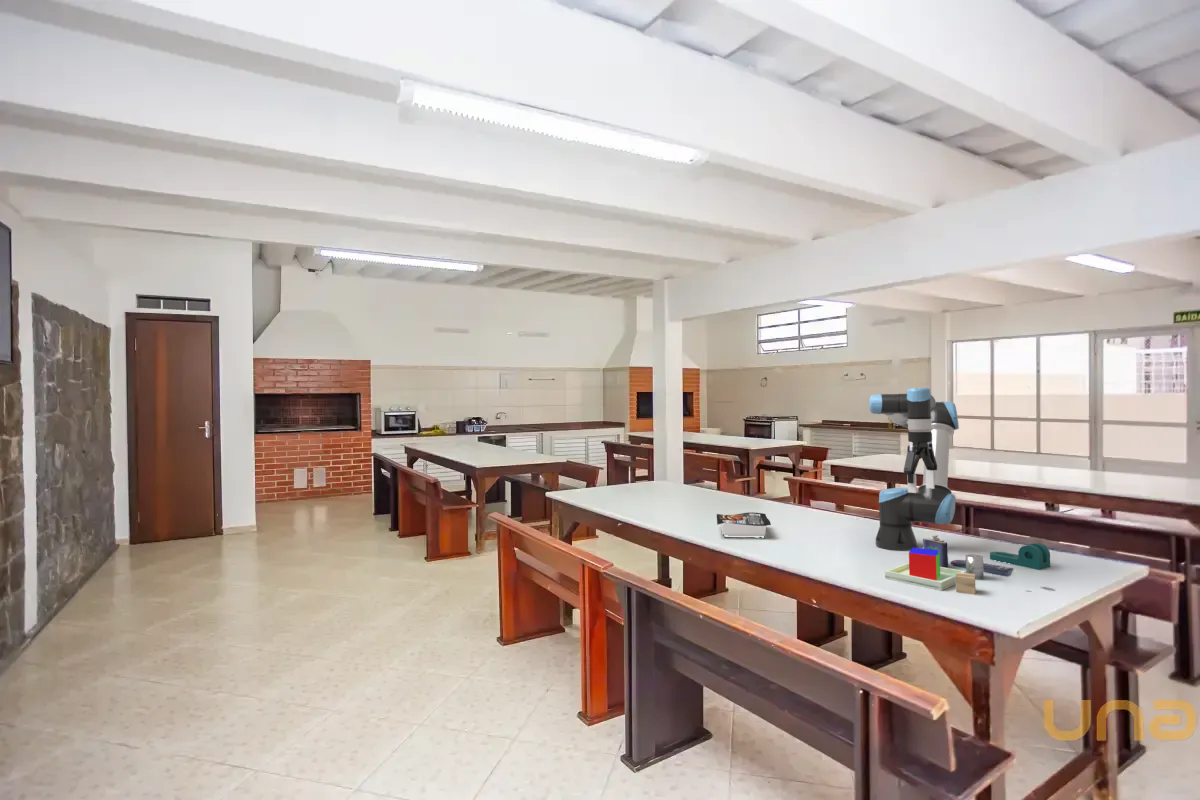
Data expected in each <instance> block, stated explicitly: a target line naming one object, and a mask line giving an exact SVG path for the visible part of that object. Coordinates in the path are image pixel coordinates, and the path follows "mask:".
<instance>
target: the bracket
mask: <svg viewBox="0 0 1200 800" xmlns="http://www.w3.org/2000/svg"><path fill="white" fill-rule="evenodd" d="M989 559H990V560H991V561H994V560H996V561H995V562H998V561H1000V562H999V563H1003V562H1006V563H1005V564H1008V563H1010V564H1009V565H1013V566H1018V567H1023V568H1027V569H1032V570H1037V571H1038V570H1039V571H1042V570H1045V569H1049V568H1051V552H1050V550H1049V548H1048V547H1047V546H1046V545H1045V544H1043V543H1041V542H1034V543H1030V544H1026V545H1023V546H1021V547H1020V548H1019V549H1018V553H1017V554H1015V553H1012V552H1011V553H1010V552H1005V551H989Z"/></svg>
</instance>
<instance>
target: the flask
mask: <svg viewBox="0 0 1200 800" xmlns="http://www.w3.org/2000/svg"><path fill="white" fill-rule="evenodd" d="M922 543H923V544H922V545H923V546H922V547H923V548H922V549H931V550H940V567H945V568H949V556H948V554H949V553H948V552H949V551H948V542H947V541H945V540H942V539H940V538H939V535H938V534H937V535H932V538H929V537H924V538H922Z"/></svg>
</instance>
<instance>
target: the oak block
mask: <svg viewBox="0 0 1200 800" xmlns="http://www.w3.org/2000/svg"><path fill="white" fill-rule="evenodd" d="M955 593H959V594H967V595H974V596H975V595H976V580H975V574H968V573H959V572H956V584H955Z"/></svg>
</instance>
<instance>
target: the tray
mask: <svg viewBox="0 0 1200 800" xmlns="http://www.w3.org/2000/svg"><path fill="white" fill-rule="evenodd" d="M956 572H959V573H966V570H965V571H964V570H959V569H954V568H950V567H948V568H945V567H940V576H939V578H938V579H937V580H930V579H926V578H921V577H916V576H911V575H909V561H908V562H905V563H903V564H900V565H897V566H894V567H892V568H889V569H887V570H885V571H884V580H885V579H886V580H891V581H895V582H900V583H905V584H908V585H913V586H919V587H923V588H928V589H933V590H935V591H936V590H937V591H940V592H941V591H945V590H946V589H948V588H951V587H952V586H956Z"/></svg>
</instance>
